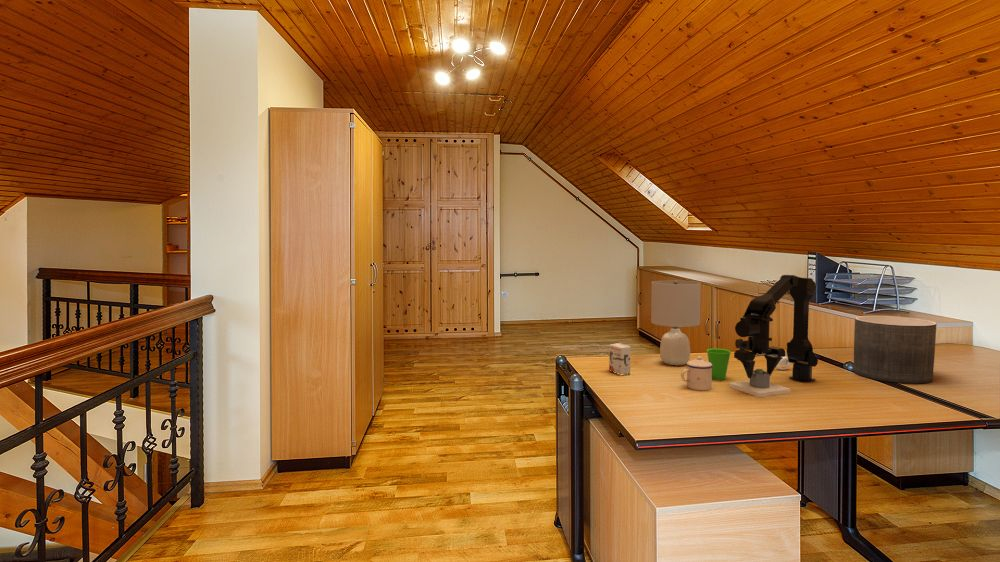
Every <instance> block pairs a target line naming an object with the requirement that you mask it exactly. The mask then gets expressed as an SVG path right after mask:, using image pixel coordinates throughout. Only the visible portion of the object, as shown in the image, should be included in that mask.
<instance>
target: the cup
mask: <svg viewBox="0 0 1000 562" xmlns="http://www.w3.org/2000/svg"><path fill="white" fill-rule="evenodd" d="M705 352H707V359H708V362H710V363H711V364H712V366H713V367H712V380H716V381H724V380H725V379H726V377H727V372H728V367H729V363H730V362H729V361H730V356H731V354H732V351H731V350H729V349H725V348H707V349H706V351H705Z"/></svg>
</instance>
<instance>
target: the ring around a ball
mask: <svg viewBox="0 0 1000 562" xmlns="http://www.w3.org/2000/svg"><path fill="white" fill-rule="evenodd" d="M786 351H787V350H785V357H782V358H783V359H781V360H780V361H779V363H778V364H777V366H776V367H775V368H776V369H778V370H780V371H784V370H788V368H790V366H791V365H792V363H789V361H788V356H786V355H787V352H786ZM781 366H782V367H781Z"/></svg>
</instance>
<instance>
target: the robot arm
mask: <svg viewBox="0 0 1000 562" xmlns="http://www.w3.org/2000/svg"><path fill="white" fill-rule="evenodd" d="M815 289H816V282H815V281H814V279H813V278H811V277H801V276H797V275H796V274H783V275H781V276H780V278H779V280H778V281H777V282H775V283H774V285H772V286H771V287H770V288H769V289H768V290H767V291H766V292H765V293H764V294H761V295H758V296H756V297H754V298H752V300H750V302H749V304H748V306H747V307H746V309H745V312H744V314H743V316H742V317H740V320H739V321H738V322H737V323H736V324H735V327H734V330H735V333H736V335H738V336H739V337H741V338H739V339H737V338H736V339H735V341H734V345H735V348H736V350H735V351H734V353H733V358H734V359H736V360H737V361H740V362H741V364H742V365H743V369H744V371H745V374H746V376H747V378H748V379H750V378H751V377H752V373H753V370H755V365H756V360H755V359H756V357H761V356H763V357H764V359H766V371H767V372H770V376H771V375H772V374H773V372H774V371H775V368H776V366H777V365H779V364H778V363H779V361H780V360H781V359H783V358H782V357H785V356H786V355H787V356H786V357H787V358H788V361H789V362H788V363H791V364H792V374H791V375H792V376H789V379H791V380H795V381H798V382H802V383H806V382H813V381H816V378H813V376H812V375H813V367H817V365H818V363H819V359H818V357H817V356H816V355H815V353H814V350H813V349H814V348H813V345H812V342H811V341H810V340H809V315H810V314H809V312H810V308H809V307H810V300H811V299H812V298H813V296H814V295H815V291H816V290H815ZM788 292H789V295H790V297H791V298H792V300H793V325H792V329H793V331H792V338H791V340H790V341H788V342H787V343H786V350H785V349H784V348H782V347H778V346H772V345H771V346H770V342H771V341H773V337H770V322H773V321H774V319H773V317H771V316H772V315H773V313H774V311H776V308H777V306H776V305H777V303H778V302H779V301H780V300H781V299H782V298H783V297H784V296H785V295H786V294H787V293H788ZM742 338H747V340H744V339H742ZM785 351H786V352H787V354H785Z"/></svg>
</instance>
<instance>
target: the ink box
mask: <svg viewBox="0 0 1000 562" xmlns="http://www.w3.org/2000/svg"><path fill="white" fill-rule="evenodd" d="M631 349H632V347H631V346H630V345H626V344H624V343H620V342H616V343H611V344H609V351H608V353H609V356H608V358H609V359H608V360H609V361H608V371H609V370H611V371H614V372H616V373H619V374H627V373H630V374H631V351H632V350H631Z"/></svg>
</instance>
